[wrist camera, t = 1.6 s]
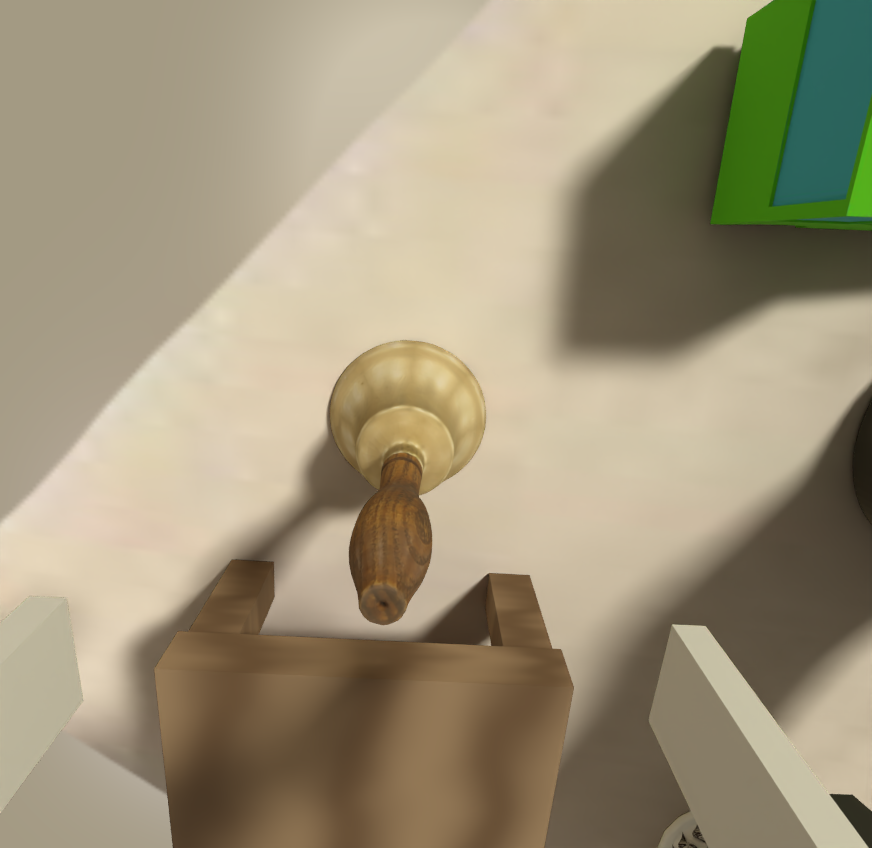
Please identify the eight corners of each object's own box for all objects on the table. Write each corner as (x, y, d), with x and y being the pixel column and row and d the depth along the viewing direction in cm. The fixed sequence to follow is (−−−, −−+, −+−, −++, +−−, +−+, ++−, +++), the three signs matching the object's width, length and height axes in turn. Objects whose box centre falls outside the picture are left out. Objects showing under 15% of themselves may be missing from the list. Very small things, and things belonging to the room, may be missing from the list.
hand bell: (445, 509, 31) (463, 759, 16) (307, 452, 30) (189, 665, 15) (512, 380, 29) (607, 530, 14) (366, 313, 28) (296, 397, 13)
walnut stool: (535, 571, 33) (573, 687, 24) (501, 796, 38) (523, 956, 30) (226, 554, 32) (153, 668, 23) (238, 786, 38) (183, 947, 29)
